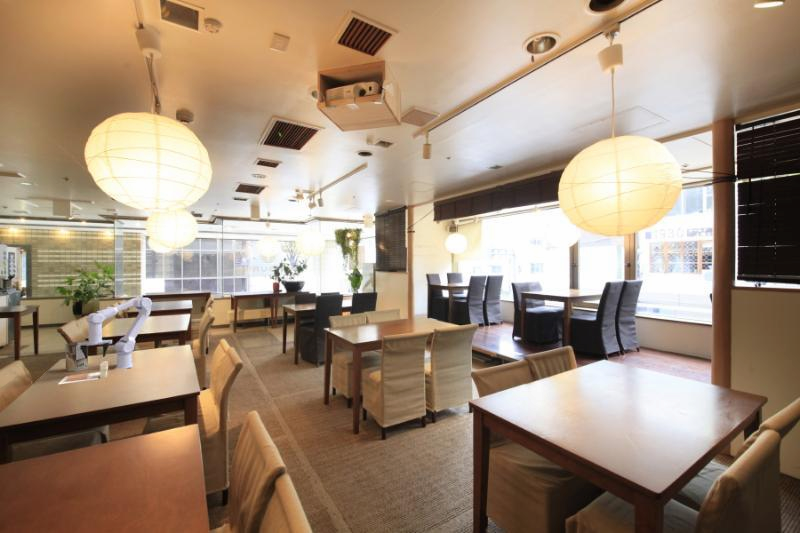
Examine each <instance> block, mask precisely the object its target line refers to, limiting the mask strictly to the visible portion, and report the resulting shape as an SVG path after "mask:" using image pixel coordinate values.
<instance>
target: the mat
mask: <svg viewBox="0 0 800 533" xmlns="http://www.w3.org/2000/svg"><path fill="white" fill-rule="evenodd" d="M88 373H89V372H88ZM69 376H70V375H65V376H64V377H63V378H62V379H61V381H59V382H58V384H57V385H63V384H64V385H65V384H70V383H71V384H72V383H79V382H80V383H81V382H87V381H95V380H98V379H99V378H100V371H97V372H90V373H89V377H88V378H87V379H83V380H76V381H68V382H67V378H68V377H69Z"/></svg>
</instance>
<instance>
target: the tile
mask: <svg viewBox="0 0 800 533" xmlns="http://www.w3.org/2000/svg"><path fill="white" fill-rule="evenodd" d="M68 376H69V377H68V378H67V382H68V381H76V380H83V379H87V378H88V377H89V372H87V373H80V374H71V375H68Z"/></svg>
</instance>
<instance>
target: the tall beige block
mask: <svg viewBox="0 0 800 533" xmlns="http://www.w3.org/2000/svg"><path fill="white" fill-rule="evenodd" d="M99 372H100V377H99V378H100V379H102V378H107V376H109V360H107V361H106V360H105V361H102V362H101V363H100V364H99Z"/></svg>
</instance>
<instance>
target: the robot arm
mask: <svg viewBox="0 0 800 533" xmlns="http://www.w3.org/2000/svg"><path fill="white" fill-rule="evenodd" d="M152 305H153V301H152V300H151V298H149V297H143V296H142V297H141V296H136V297H134V298H130V299H129V300H127V301H124V302H123V303H120V304H118V305H116V306H106V307H105V308H104V309H101V310H97V311H96V312H92V313H90V314H88V315H87V317H86V318H85V320H86V322H87V323H88V341H83V342H81V341H80V342H81V343H78V347H80V349H81V350H82V352H83V353H84V356H85V359H87V358H88V359H89V351H88V350H89V349H88V347H89V346H97V345H98V346H99V345H102V358H104V357H106V353H107V351H108V348H109V346H110V345H111V344H113V339H107V340H106V339H103V322H104V321H105V320H107V319H110V318H112V317H114V316H117V314H118V312H121V311H124V310H126V309H129V308H131V307H134V308H136V310H137V311H138V314H137V316H136V318H135V319H134V321H133V322H132V323H131V326H130V327H129V328H128V330H127V332H126V334H125V335H124V336H122V337H121V338H120V339H119V340H118V341H117V342H116V343H115V344H114V351H116V367H115V368H114V370H120V369H130V368H133V366H134V362H133V360H132V359H133V356H132V353H133V351H134V349H135V344H136V338H137V336H138V334H140V331H141V329H142V328H143V326H144V325H145V323H146V321H147V319H148V318H149V317H150V314H151V312H152Z"/></svg>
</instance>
